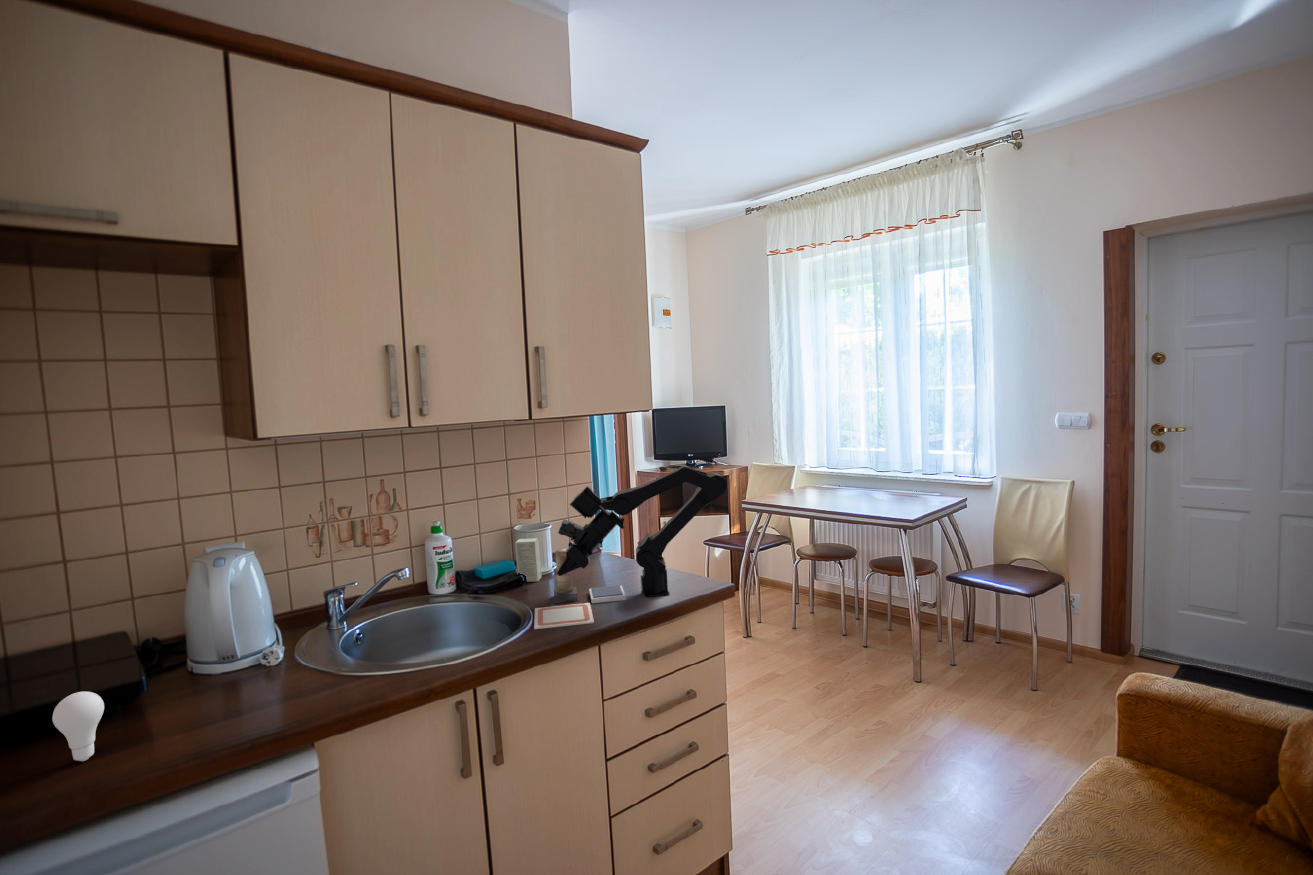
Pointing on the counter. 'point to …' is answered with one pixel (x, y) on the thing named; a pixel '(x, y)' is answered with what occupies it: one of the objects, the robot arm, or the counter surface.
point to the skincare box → (528, 558)
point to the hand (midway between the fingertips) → (558, 572)
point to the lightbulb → (79, 722)
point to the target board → (563, 616)
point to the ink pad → (607, 594)
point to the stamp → (564, 581)
